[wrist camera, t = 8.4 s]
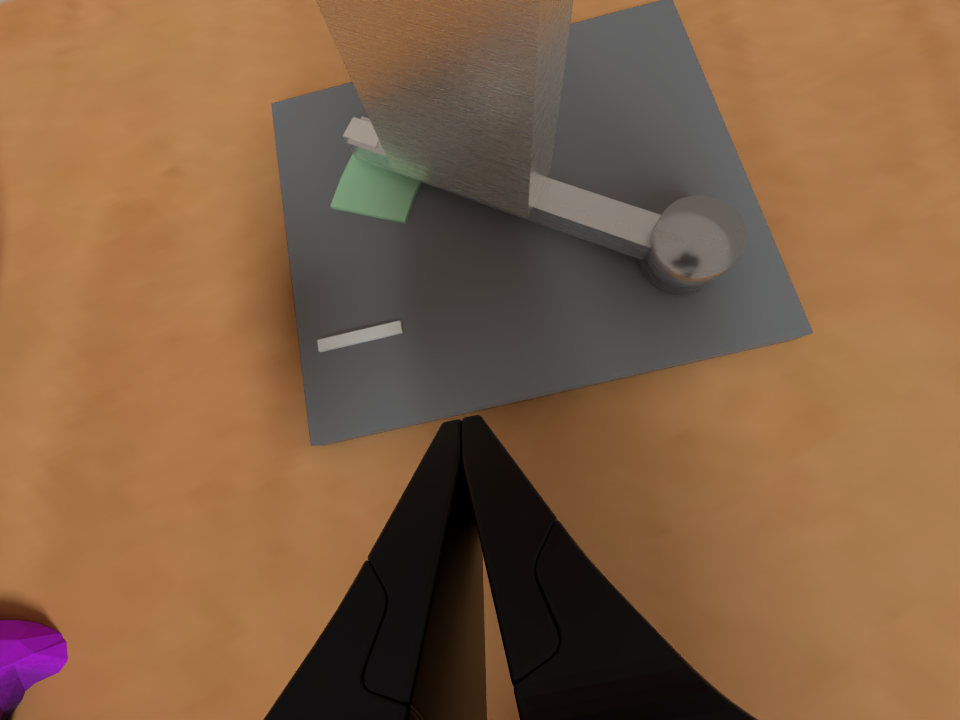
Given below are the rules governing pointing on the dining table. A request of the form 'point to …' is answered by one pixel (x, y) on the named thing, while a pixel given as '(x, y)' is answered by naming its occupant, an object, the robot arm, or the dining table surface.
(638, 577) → the dining table surface
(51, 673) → the cloth
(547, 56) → the frosted block on spoon
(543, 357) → the plate
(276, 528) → the dining table surface
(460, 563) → the robot arm
